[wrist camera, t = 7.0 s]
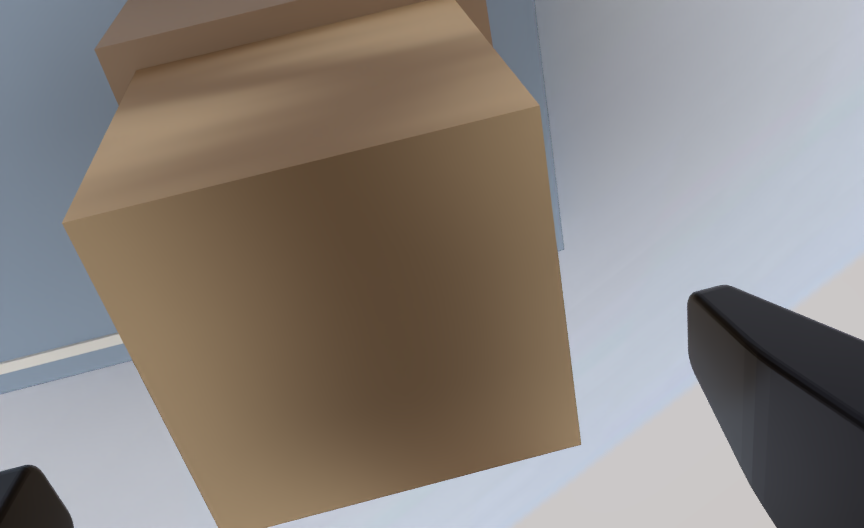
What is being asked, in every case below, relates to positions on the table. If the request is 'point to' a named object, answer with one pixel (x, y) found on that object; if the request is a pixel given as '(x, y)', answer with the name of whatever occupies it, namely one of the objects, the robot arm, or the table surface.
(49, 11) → the blueprint board
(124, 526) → the table surface
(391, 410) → the oak cube
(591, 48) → the table surface
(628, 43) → the table surface
